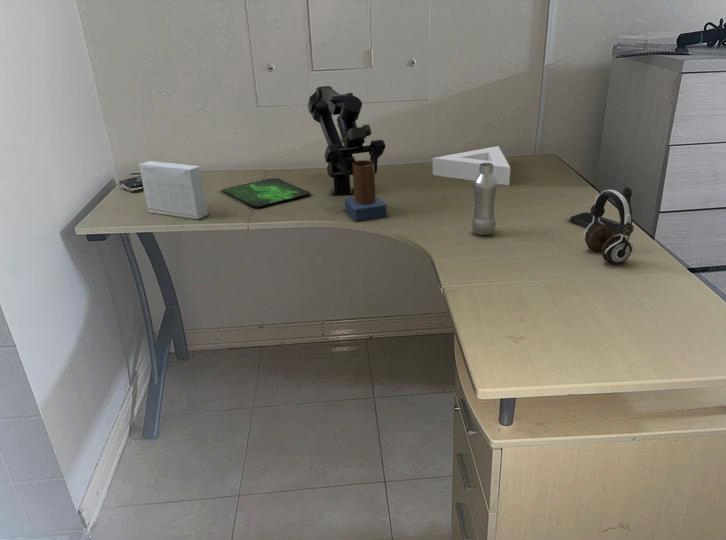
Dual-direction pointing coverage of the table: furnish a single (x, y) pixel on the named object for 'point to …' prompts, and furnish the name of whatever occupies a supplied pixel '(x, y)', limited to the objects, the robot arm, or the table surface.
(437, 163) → the triangle block
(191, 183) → the skincare box
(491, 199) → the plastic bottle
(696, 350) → the table surface
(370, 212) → the box
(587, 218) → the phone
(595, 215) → the headset
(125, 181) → the disk drive
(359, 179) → the brown wooden cylinder
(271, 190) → the mouse mat
